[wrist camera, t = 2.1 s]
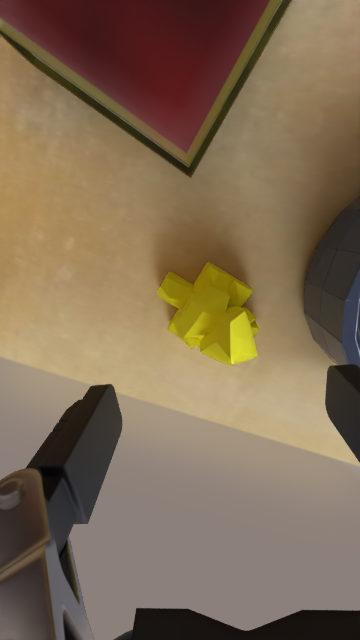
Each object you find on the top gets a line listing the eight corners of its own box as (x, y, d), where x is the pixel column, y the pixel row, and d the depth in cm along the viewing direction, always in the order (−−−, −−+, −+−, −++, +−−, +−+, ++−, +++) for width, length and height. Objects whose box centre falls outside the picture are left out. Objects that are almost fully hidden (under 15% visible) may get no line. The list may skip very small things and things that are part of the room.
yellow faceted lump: (183, 245, 19) (174, 259, 12) (271, 299, 20) (313, 342, 13) (147, 310, 21) (120, 355, 14) (229, 355, 22) (244, 421, 15)
